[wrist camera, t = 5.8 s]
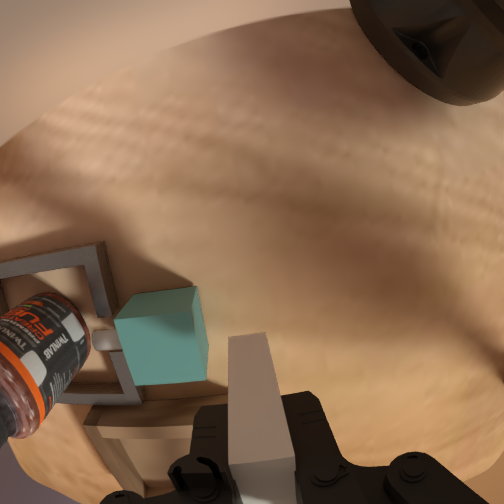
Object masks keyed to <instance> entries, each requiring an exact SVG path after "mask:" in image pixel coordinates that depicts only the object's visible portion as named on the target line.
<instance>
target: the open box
mask: <svg viewBox="0 0 504 504" xmlns="http://www.w3.org/2000/svg"><path fill="white" fill-rule="evenodd" d="M218 404H228V394H225V395H217V396H208V397H198V398H186V399H173V400H156V401H143V404H142V405H93V406H92V408H91V409H90V411H89V413H88V415H87V417H86V419H85V421H84V423H83V427H84V429H85V431H86V432H87V434H88V436H89V438H90V439H91V441H92V443H93V444H94V446H95V448H96V449H97V451H98V453H99V454H100V456H101V457H102V459H103V461H104V462H105V464H106V465H107V467H108V468H109V470H110V471H111V473H112V474H113V476H114V477H115V479H116V480H117V481H118V483H119V484H120V486H121V487H122V488H123V490H127V491H134V492H135V493H137V494H139V495H141V496H142V497H143V498H148V497H153V496H158V495H163V494H166V493H169V492H171V491H173V490H175V487H174V485H173V483H172V482H171V480H170V478H169V476H168V474H167V472H168V470H169V467H170V465H171V464H173V463H174V462H175V461H176V460H177V459H178V458H181V457H183V456H185V455H188V454H189V452H190V444H191V439H192V437H191V436H192V430H193V421H194V416H195V414H196V413H197V412H198V410H199V409H200V407H201V406H206V405H218Z"/></svg>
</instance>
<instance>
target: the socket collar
mask: <svg viewBox="0 0 504 504" xmlns="http://www.w3.org/2000/svg"><path fill="white" fill-rule="evenodd" d="M80 265H84V267H85V271H86V275H87V279H88V283H89V287H90V291H91V295H92V299H93V303H94V306H95V310H96V313H97V317H98V318H100V317H110V316H113V315H114V313H115V312H116V311H117V310H118V308H119V304H118V300H117V296H116V292H115V288H114V284H113V280H112V275H111V271H110V266H109V262H108V257H107V252H106V247H105V242H104V241H102V242H96V243H91V244H85V245H80V246H75V247H69V248H64V249H59V250H54V251H49V252H44V253H39V254H34V255H29V256H24V257H20V258H15V259H10V260H5V261H1V262H0V279H2V278H8V277H14V276H19V275H25V274H31V273H37V272H43V271H49V270H55V269H61V268H67V267H73V266H80ZM7 312H9V310H8V307H7V303H6V300H5V297H4V293H3V289H2V286H1V282H0V317H1V316H2V315H4V314H5V313H7ZM109 354H110V357H111V360H112V363H113V366H114V368H115V371H116V374H117V376H118V379H119V382H114V383H70V384H69V385H68V386H67V388H66V389H65V391H64V392H63V393H62V395H61V396H60V397H59V399H58V400H57V402H56V403H64V404H83V405H142V404H143V401H144V398H145V395H146V390H145V387H144V385H137V386H135V384H134V381H133V378H132V375H131V373H130V370H129V367H128V364H127V361H126V358H125V355H124V352H123V349H116V350H110V351H109Z"/></svg>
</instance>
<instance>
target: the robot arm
mask: <svg viewBox="0 0 504 504" xmlns="http://www.w3.org/2000/svg"><path fill="white" fill-rule="evenodd" d="M350 4H351V7H352V9H353V12H354V14H355V16H356V18H357V20H358V22H359V24H360V26H361V27H362V29H363V31H364V32H365V34H366V35H367V37H368V38H369V40H370V41H371V42H372V44H373V45H374V46H375V48H376V49H377V50H378V51H379V52H380V54H381V55H382V56H383V57H384V58H385V59H386V60H387V61H388V62H389V63H390V65H391V66H392V67H393V68H394V69H396V70H397V71H398V72H399V73H400V74H401V75H402V76H403V77H404V78H406V79H407V80H408V81H409V82H410V83H412V84H413V85H414V86H416V87H417V88H419V89H420V90H422V91H423V92H425V93H426V94H428V95H430V96H432V97H433V98H435V99H438V100H440V101H442V102H445V103H448V104H452V105H457V106H468V105H473V104H476V103H480V102H484V101H488V100H490V99H492V98H494V97H496V96H497V95H498V94H500V93H501V92H502V91H503V90H504V0H350ZM191 437H192V439H191V444H190V452H189V454H188V455H185V456H183V457H181V458H178V459H177V460H176V461H175V462H174V463H173V464H171V465H170V467H169V470H168V472H167V474H168V476H169V478H170V480H171V482H172V483H173V485H174V487H175V490H173V491H171V492H169V493H166V494H163V495H158V496H153V497H148V498H143V497H142V496H141V495H139V494H137V493H135V492H134V491H127V490H121V491H115V492H113V493H111V494H109V495H107V496H106V497H105V498H104V499H103V500H102V501H101V502H100V504H489V503H487V502H486V501H485V500H484V499H483V498H481V497H480V496H479V495H478V494H476V493H475V492H474V491H473V490H471V489H470V488H469V487H468V486H467V485H465V484H464V483H463V482H462V481H461V480H459V479H458V478H457V477H456V476H455V475H453V474H452V473H451V472H450V471H449V470H447V469H446V468H445V467H444V466H443V465H441V464H440V463H439V462H438V461H437V460H435V459H434V458H433V457H431V456H430V455H428V454H426V453H422V452H408V453H405V454H402V455H400V456H398V457H396V458H395V459H394V460H393V461H392V462H391V463H390V465H389V466H377V467H362V466H358V465H354V464H352V463H350V462H348V461H347V460H346V459H345V458H344V457H343V456H342V454H341V453H340V451H339V448H338V446H337V443H336V441H335V438H334V436H333V433H332V431H331V428H330V426H329V423H328V421H327V418H326V416H325V413H324V412H323V408H322V406H321V403H320V401H319V399H318V398H317V397H316V396H315V395H313V394H312V393H311V392H310V391H304V392H299V393H293V394H288V395H282V396H281V395H280V391H279V387H278V383H277V378H276V374H275V370H274V366H273V361H272V357H271V353H270V349H269V344H268V340H267V336H266V332H262V333H255V334H248V335H240V336H233V337H229V338H228V404H218V405H206V406H201V407H200V409H199V410H198V412H197V413H196V414H195V416H194V421H193V430H192V436H191Z"/></svg>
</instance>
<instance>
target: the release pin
mask: <svg viewBox="0 0 504 504" xmlns="http://www.w3.org/2000/svg"><path fill="white" fill-rule="evenodd" d="M114 323H115V327H116V329H112V330H99V331H94V332H93V334H92V343H93V346H94V348H95V349H96V350H97V351H99V350H116V349H123V352H124V355H125V358H126V361H127V364H128V367H129V370H130V373H131V375H132V378H133V381H134V384H135V386H137V385H156V384H171V383H183V382H193V381H203V380H206V377H207V362H208V348H209V344H208V339H207V335H206V330H205V325H204V320H203V315H202V310H201V305H200V300H199V295H198V289H197V286H193V287H186V288H179V289H171V290H164V291H156V292H148V293H141V294H134V295H133V296H132V297H131V299H130V300H129V301H128V302H127V304H126V305H125V306H124V307H123V308H122V310H121V311H120V312H119V314H118V315H117V316H116V317H115V319H114Z"/></svg>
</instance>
